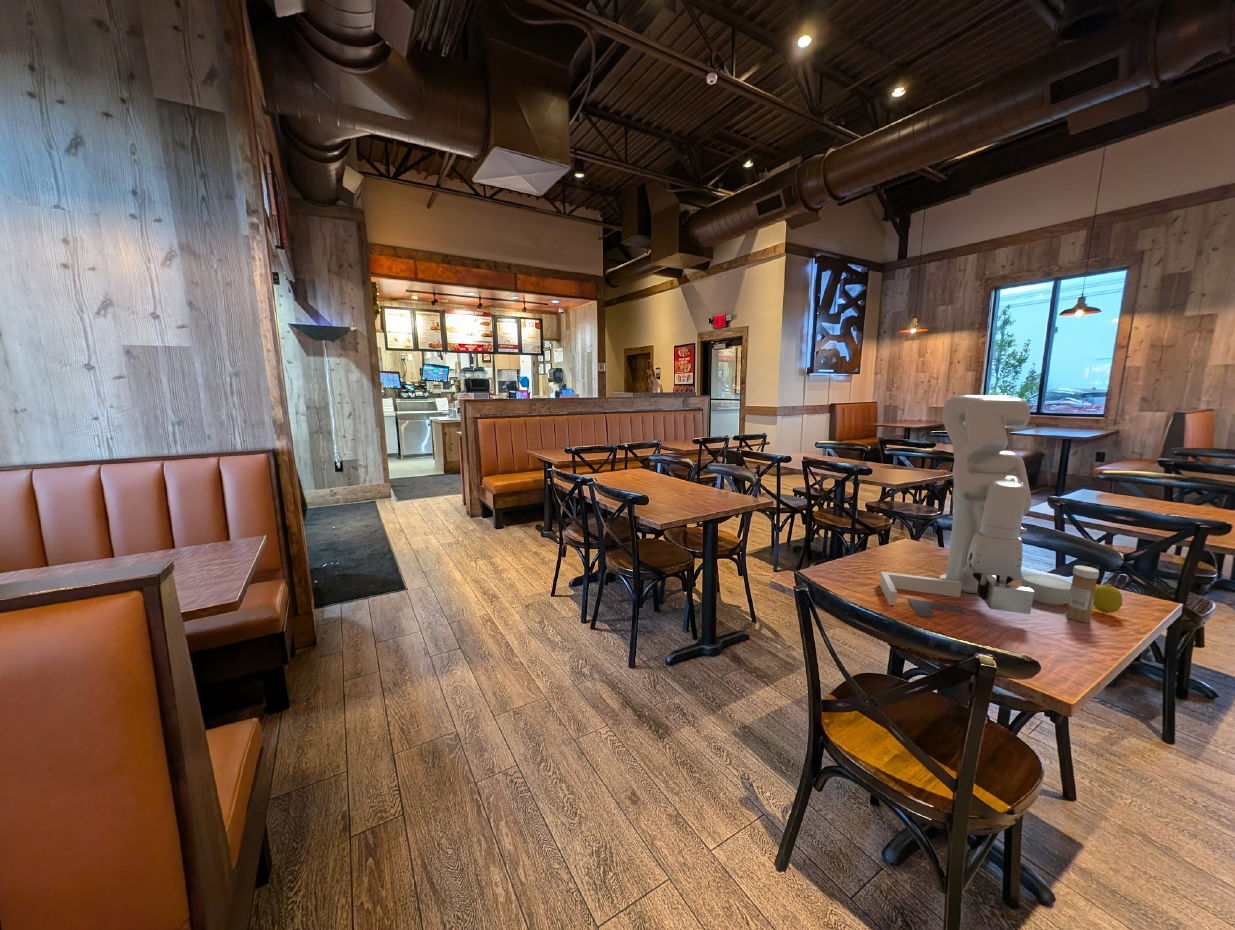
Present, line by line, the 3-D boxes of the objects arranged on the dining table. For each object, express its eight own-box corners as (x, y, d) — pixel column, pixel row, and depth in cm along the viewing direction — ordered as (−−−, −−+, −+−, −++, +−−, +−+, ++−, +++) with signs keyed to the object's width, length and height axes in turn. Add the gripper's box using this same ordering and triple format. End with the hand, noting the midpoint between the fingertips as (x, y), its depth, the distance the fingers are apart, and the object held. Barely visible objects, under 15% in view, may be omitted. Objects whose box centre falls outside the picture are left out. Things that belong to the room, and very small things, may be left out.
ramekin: (1011, 587, 138) (1014, 570, 137) (1060, 593, 134) (1063, 576, 133) (1027, 603, 128) (1030, 584, 127) (1080, 610, 123) (1083, 591, 123)
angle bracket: (975, 590, 126) (979, 569, 125) (1012, 595, 123) (1016, 573, 122) (990, 608, 117) (993, 586, 115) (1030, 614, 114) (1034, 591, 113)
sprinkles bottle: (1095, 622, 117) (1104, 570, 115) (1081, 624, 116) (1090, 572, 114) (1073, 613, 122) (1082, 564, 119) (1060, 615, 121) (1068, 565, 118)
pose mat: (959, 606, 125) (959, 605, 125) (973, 624, 116) (973, 622, 116) (907, 599, 129) (907, 598, 129) (916, 615, 120) (916, 614, 120)
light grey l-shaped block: (958, 594, 132) (959, 581, 132) (976, 618, 119) (979, 603, 118) (879, 584, 139) (880, 571, 138) (888, 605, 125) (890, 591, 125)
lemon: (1114, 620, 118) (1120, 590, 117) (1085, 611, 123) (1090, 582, 122) (1123, 615, 121) (1128, 586, 119) (1094, 607, 125) (1099, 578, 124)
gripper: (1032, 528, 117) (1019, 596, 121) (957, 522, 123) (947, 587, 127) (1047, 539, 110) (1032, 610, 114) (966, 532, 116) (955, 600, 120)
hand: (988, 597), depth 121 cm, fingers closed on angle bracket
